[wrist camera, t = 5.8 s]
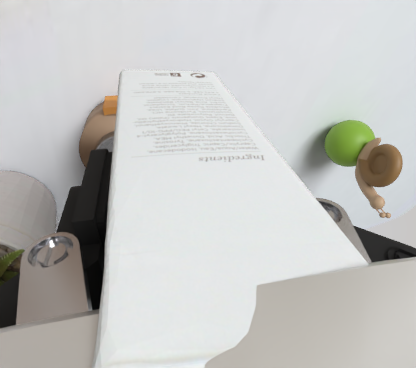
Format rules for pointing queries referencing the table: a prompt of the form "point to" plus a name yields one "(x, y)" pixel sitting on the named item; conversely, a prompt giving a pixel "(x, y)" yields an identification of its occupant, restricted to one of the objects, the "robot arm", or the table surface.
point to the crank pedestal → (97, 126)
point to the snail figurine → (364, 158)
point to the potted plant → (22, 218)
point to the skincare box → (198, 223)
